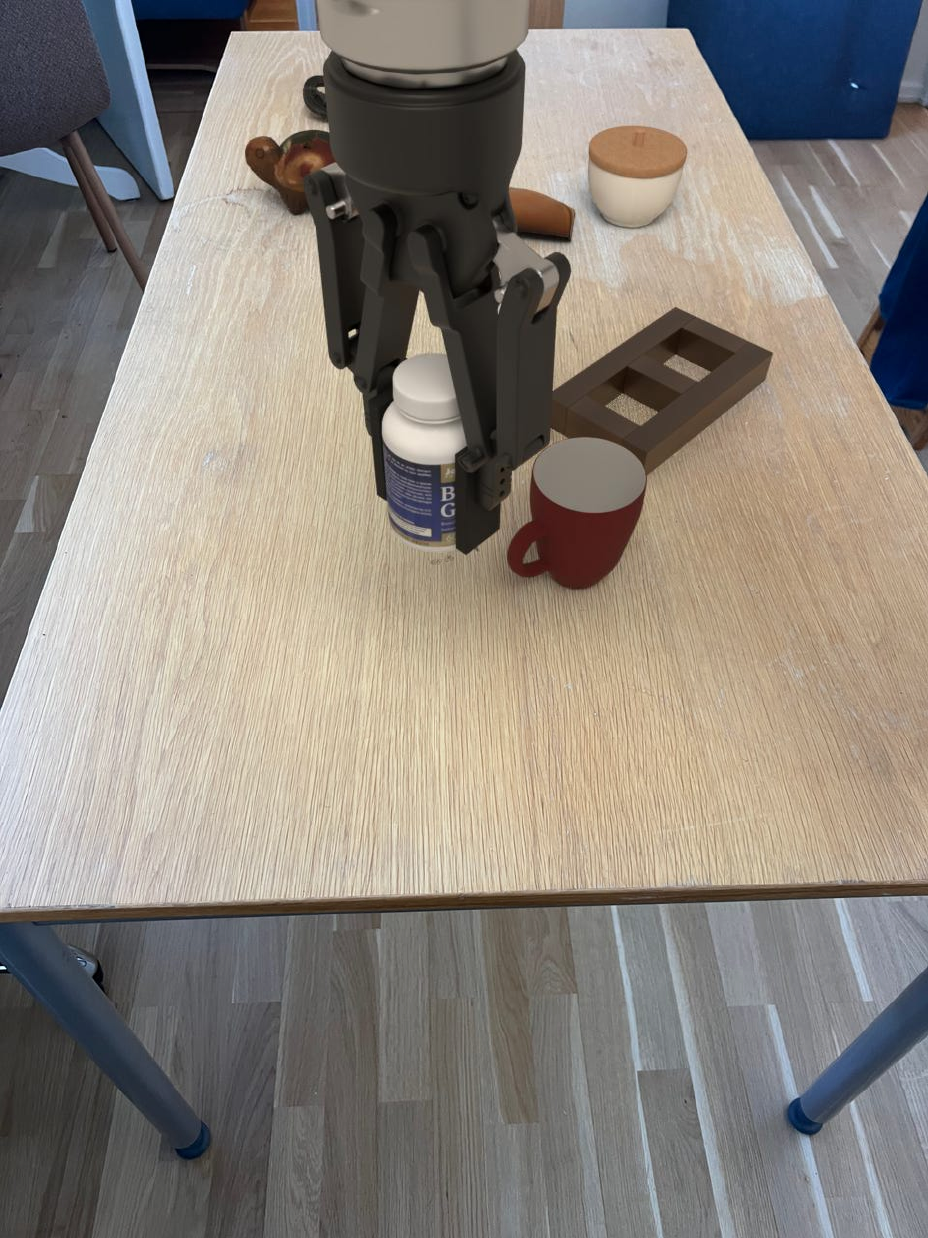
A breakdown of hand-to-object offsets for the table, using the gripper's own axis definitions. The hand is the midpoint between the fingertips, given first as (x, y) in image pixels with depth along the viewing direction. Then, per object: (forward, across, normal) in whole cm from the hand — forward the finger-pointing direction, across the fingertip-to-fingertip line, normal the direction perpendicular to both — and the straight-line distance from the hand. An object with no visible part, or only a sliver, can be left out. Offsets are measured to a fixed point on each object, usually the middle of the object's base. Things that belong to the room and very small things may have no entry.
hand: (437, 511), depth 52 cm
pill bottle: (+1, 0, 0) cm, 1 cm away
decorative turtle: (+17, -60, +41) cm, 74 cm away
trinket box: (+18, -31, +64) cm, 73 cm away
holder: (+18, -8, +37) cm, 42 cm away
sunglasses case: (+17, -42, +52) cm, 69 cm away
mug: (+18, -1, +14) cm, 23 cm away
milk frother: (+17, -74, +63) cm, 99 cm away
